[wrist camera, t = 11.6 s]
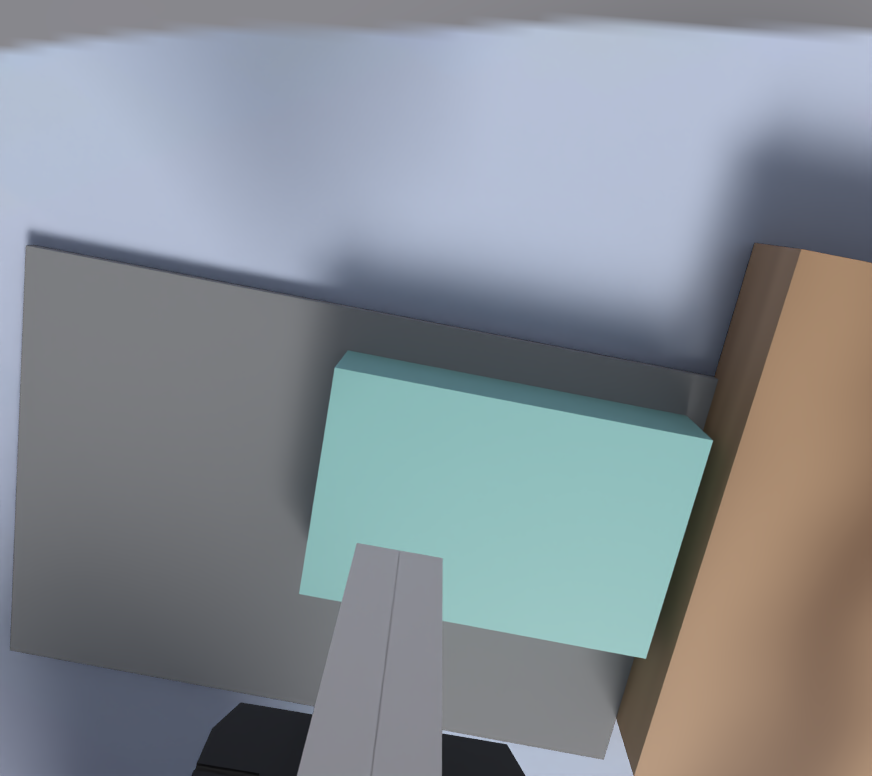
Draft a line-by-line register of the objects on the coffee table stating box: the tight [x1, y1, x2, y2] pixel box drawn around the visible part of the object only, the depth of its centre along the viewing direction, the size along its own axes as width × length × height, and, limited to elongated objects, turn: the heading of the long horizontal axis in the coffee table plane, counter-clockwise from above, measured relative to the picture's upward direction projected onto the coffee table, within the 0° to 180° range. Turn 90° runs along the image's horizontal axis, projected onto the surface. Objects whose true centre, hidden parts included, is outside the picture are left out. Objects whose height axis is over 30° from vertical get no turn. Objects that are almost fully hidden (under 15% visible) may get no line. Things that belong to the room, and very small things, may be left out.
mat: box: [10, 245, 718, 760], centre depth 20 cm, size 18×12×1 cm, turn 79°
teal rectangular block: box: [299, 350, 713, 659], centre depth 18 cm, size 9×6×2 cm, turn 79°
